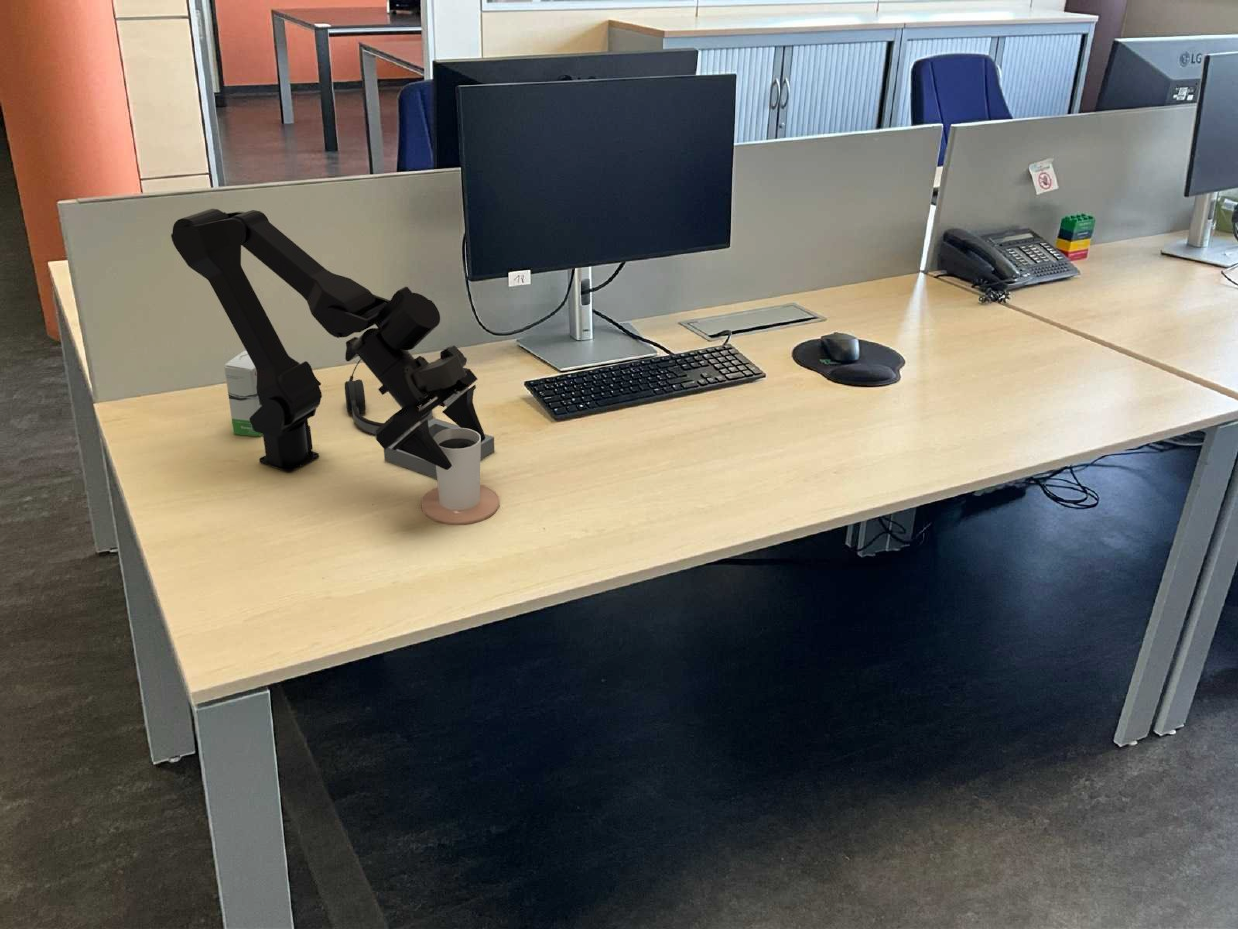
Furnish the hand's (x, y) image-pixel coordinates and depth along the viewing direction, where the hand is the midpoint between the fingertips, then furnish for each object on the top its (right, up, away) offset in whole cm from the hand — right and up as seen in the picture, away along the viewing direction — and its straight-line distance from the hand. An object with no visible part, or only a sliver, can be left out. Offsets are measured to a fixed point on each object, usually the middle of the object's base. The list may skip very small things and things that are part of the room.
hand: (466, 454), depth 151 cm
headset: (-17, +7, +31) cm, 36 cm away
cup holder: (-7, 0, +18) cm, 19 cm away
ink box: (-37, +5, +25) cm, 45 cm away
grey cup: (-2, -7, +5) cm, 8 cm away
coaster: (-2, -7, +5) cm, 9 cm away
